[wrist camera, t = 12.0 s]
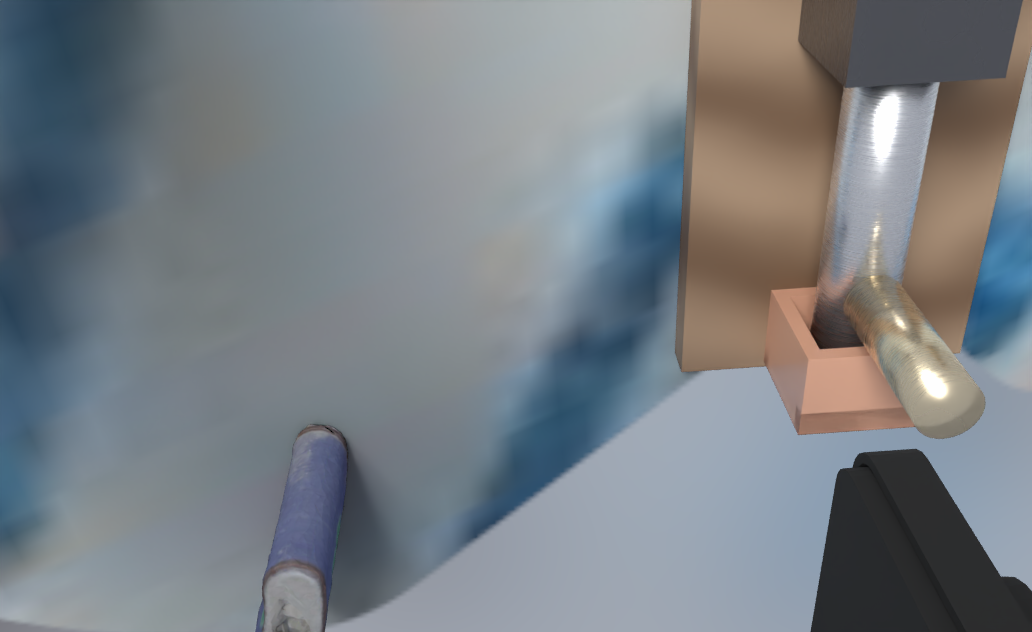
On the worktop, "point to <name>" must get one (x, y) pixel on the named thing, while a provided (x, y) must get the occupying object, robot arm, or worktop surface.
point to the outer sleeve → (910, 39)
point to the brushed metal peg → (886, 257)
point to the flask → (306, 535)
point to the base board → (813, 180)
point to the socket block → (824, 374)
